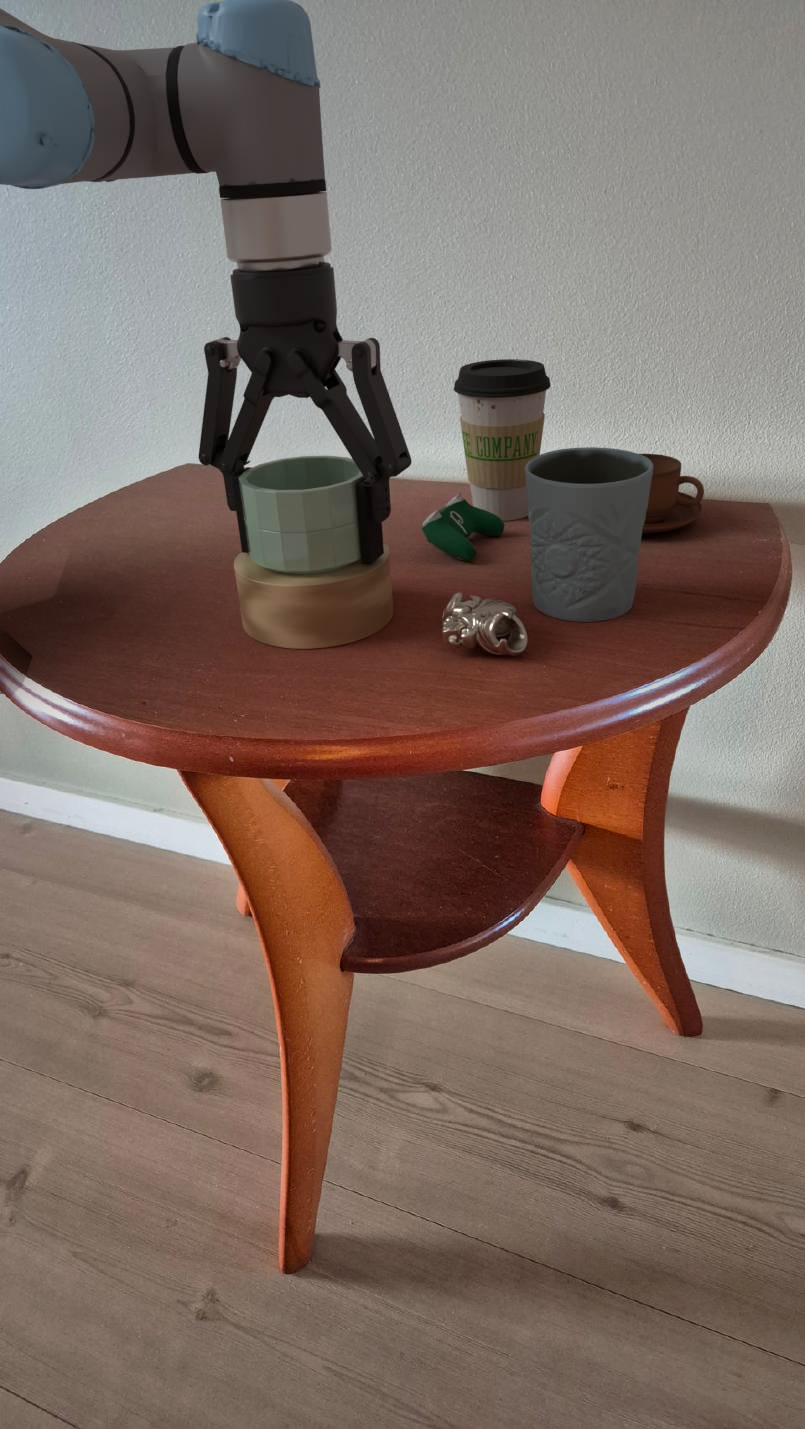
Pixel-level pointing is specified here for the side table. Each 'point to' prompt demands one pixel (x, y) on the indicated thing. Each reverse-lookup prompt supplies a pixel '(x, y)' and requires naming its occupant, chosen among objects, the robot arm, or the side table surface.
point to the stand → (314, 603)
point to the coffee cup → (501, 430)
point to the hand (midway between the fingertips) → (312, 553)
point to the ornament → (483, 626)
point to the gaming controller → (460, 527)
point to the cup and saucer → (670, 496)
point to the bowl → (302, 513)
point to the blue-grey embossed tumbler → (586, 530)
